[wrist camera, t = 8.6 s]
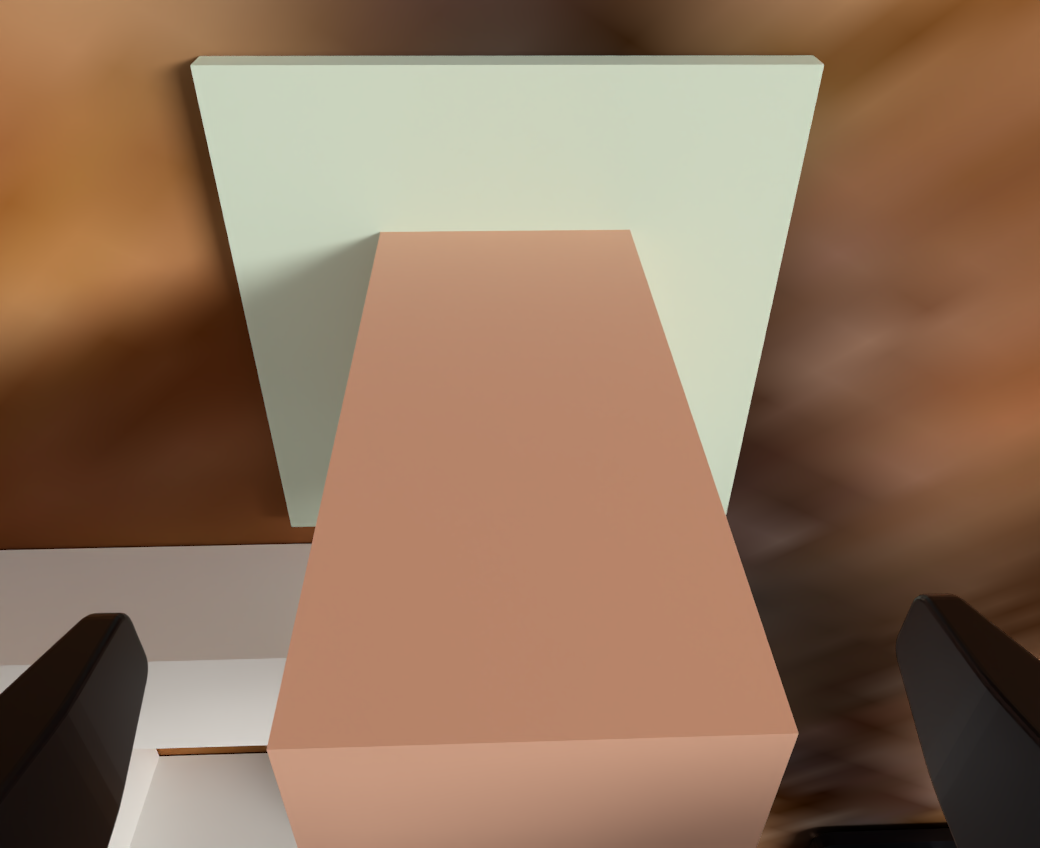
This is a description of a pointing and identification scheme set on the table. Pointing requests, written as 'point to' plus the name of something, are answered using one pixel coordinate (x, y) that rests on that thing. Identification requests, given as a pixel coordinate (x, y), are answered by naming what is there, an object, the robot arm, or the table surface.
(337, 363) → the pad
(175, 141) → the table surface
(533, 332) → the plug
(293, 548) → the white square frame
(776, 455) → the table surface
